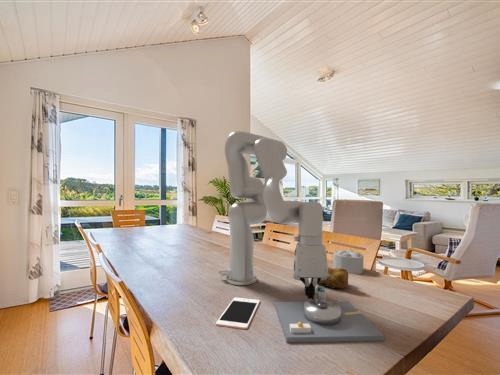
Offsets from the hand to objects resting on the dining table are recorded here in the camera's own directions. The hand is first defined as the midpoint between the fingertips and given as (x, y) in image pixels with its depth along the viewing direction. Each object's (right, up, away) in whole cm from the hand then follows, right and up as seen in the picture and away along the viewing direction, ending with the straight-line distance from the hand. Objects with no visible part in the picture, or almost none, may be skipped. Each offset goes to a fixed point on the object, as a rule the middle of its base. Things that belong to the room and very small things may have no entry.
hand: (309, 297), depth 84 cm
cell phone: (-22, -3, -6) cm, 23 cm away
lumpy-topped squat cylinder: (+27, -3, +38) cm, 47 cm away
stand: (+1, -2, -11) cm, 11 cm away
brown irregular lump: (+13, -3, +18) cm, 22 cm away
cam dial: (+2, -1, -7) cm, 8 cm away
